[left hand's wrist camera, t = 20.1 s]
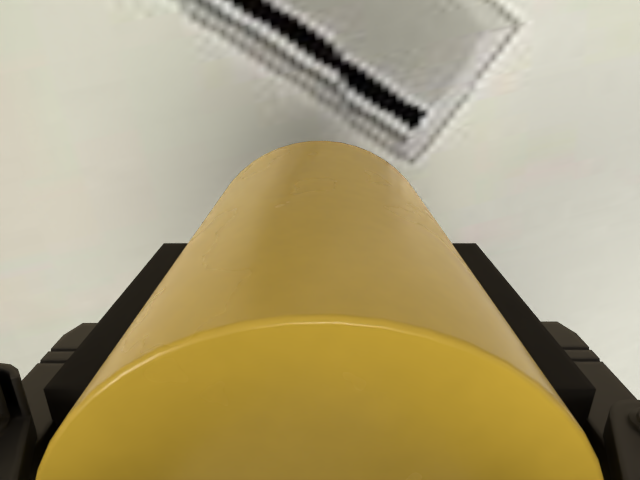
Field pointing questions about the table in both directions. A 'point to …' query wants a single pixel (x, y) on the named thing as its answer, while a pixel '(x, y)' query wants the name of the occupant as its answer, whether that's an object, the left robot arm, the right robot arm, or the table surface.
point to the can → (319, 349)
